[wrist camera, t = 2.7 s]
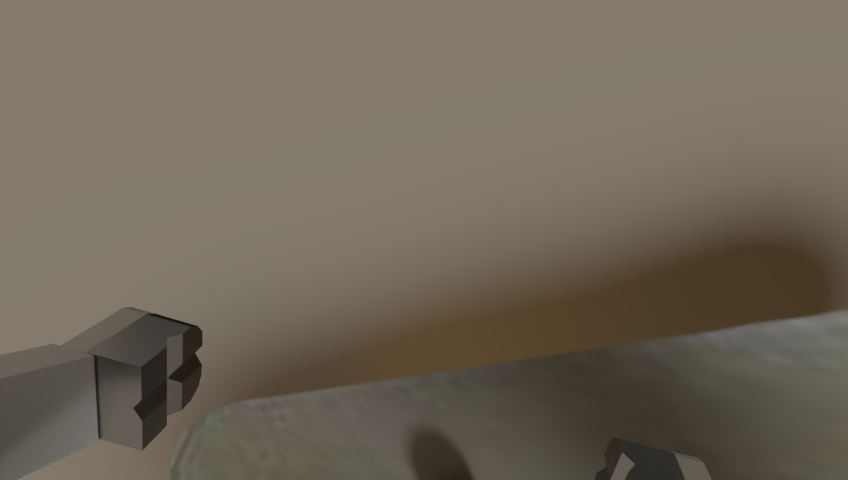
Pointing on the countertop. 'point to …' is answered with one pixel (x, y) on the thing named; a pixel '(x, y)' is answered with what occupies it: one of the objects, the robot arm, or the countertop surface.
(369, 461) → the countertop surface
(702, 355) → the countertop surface
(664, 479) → the robot arm
